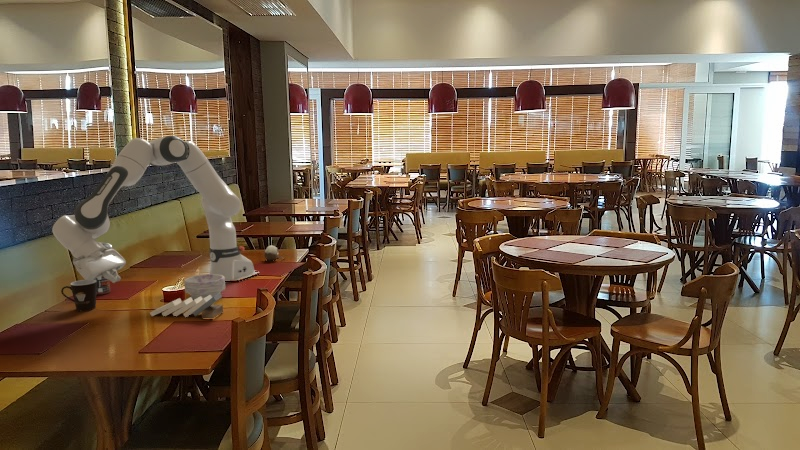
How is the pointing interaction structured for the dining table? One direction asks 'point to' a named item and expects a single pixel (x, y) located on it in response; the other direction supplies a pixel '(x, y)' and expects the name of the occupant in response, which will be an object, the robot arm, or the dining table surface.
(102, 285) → the supplement bottle
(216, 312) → the end block
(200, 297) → the domino
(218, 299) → the domino
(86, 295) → the coffee mug
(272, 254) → the skull
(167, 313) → the domino
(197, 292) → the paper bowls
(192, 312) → the domino
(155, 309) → the domino
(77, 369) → the dining table surface
